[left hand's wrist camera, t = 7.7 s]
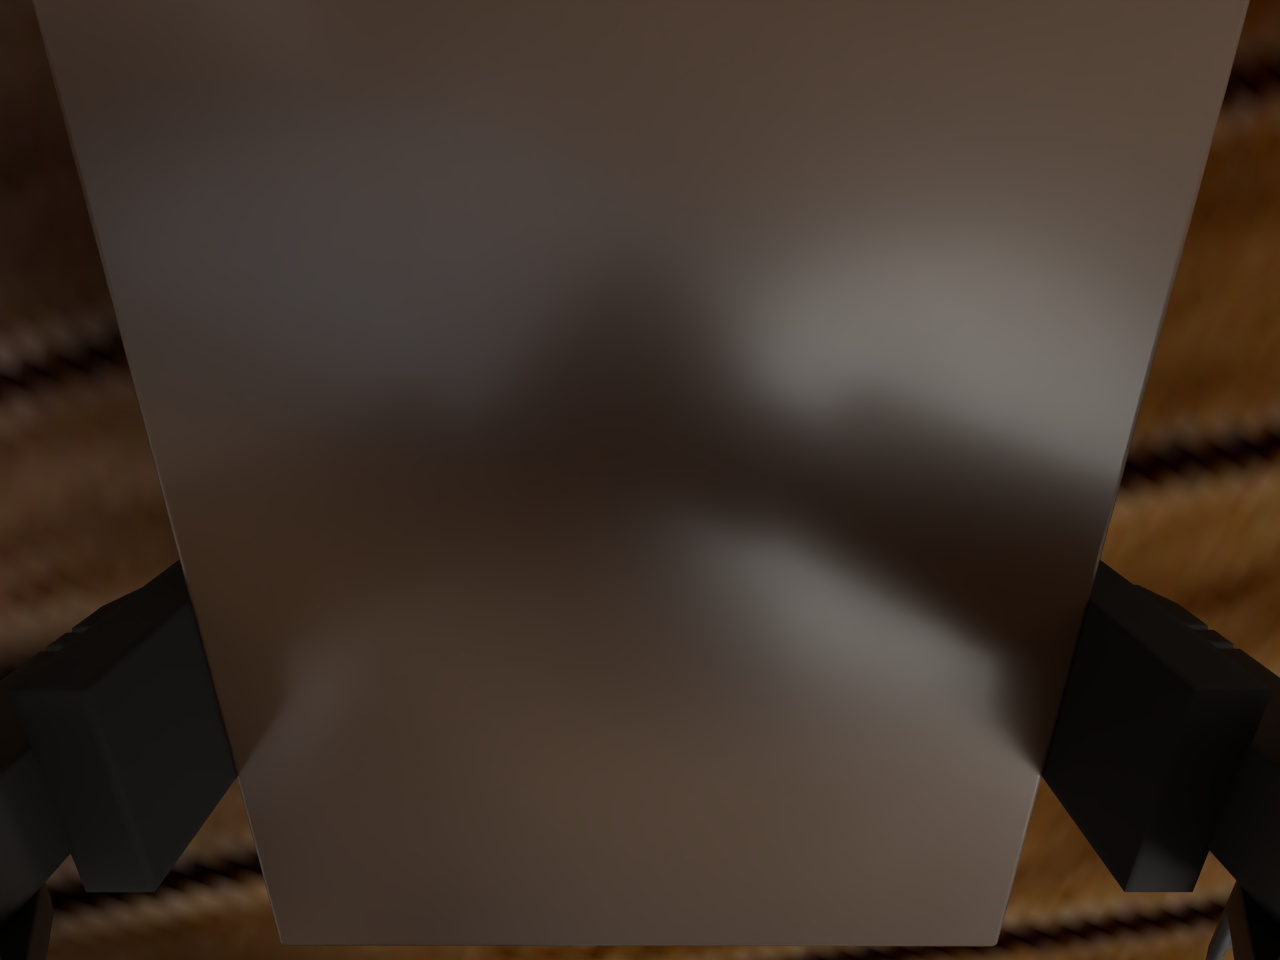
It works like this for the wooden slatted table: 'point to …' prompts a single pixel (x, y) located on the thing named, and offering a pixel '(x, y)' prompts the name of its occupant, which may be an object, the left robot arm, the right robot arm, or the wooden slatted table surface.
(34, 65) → the wooden slatted table surface
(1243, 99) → the wooden slatted table surface
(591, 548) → the cabinet
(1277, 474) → the wooden slatted table surface
